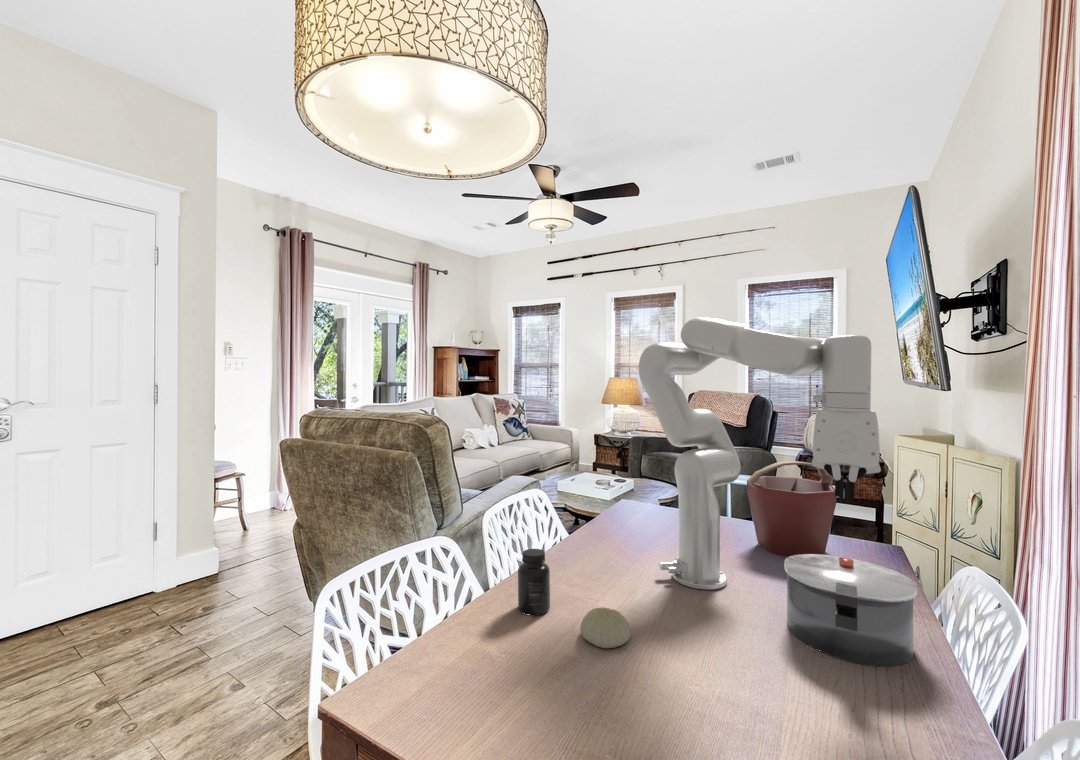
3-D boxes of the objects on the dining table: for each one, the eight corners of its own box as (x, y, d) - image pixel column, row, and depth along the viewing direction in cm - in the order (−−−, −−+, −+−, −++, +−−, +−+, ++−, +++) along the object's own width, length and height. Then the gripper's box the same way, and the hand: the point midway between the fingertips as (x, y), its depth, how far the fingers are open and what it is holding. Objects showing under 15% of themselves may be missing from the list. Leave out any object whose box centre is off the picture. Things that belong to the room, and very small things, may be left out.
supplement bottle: (555, 604, 101) (555, 549, 101) (542, 619, 95) (541, 560, 95) (526, 598, 104) (526, 544, 104) (512, 612, 97) (512, 555, 97)
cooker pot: (925, 701, 70) (925, 634, 70) (777, 657, 81) (777, 600, 81) (906, 623, 93) (906, 573, 93) (792, 598, 104) (792, 553, 104)
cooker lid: (929, 624, 71) (928, 608, 71) (775, 590, 82) (775, 576, 82) (909, 574, 92) (909, 562, 92) (789, 553, 103) (789, 542, 104)
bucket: (824, 539, 142) (824, 457, 142) (858, 567, 121) (858, 471, 121) (739, 533, 147) (738, 454, 147) (756, 560, 126) (756, 467, 126)
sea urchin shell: (602, 649, 81) (584, 603, 86) (584, 664, 86) (568, 619, 91) (643, 635, 85) (624, 592, 90) (624, 650, 90) (607, 608, 95)
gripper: (797, 401, 87) (796, 499, 87) (898, 405, 79) (896, 513, 79) (801, 400, 93) (800, 491, 94) (894, 403, 85) (893, 503, 85)
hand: (844, 501), depth 86 cm, fingers closed
